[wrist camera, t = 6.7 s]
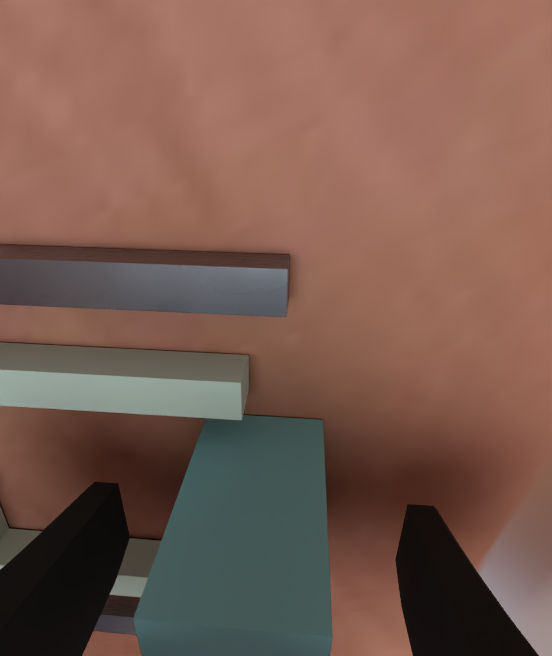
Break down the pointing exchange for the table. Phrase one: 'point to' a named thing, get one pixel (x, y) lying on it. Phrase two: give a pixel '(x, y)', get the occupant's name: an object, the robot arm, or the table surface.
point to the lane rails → (143, 303)
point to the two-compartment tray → (204, 501)
